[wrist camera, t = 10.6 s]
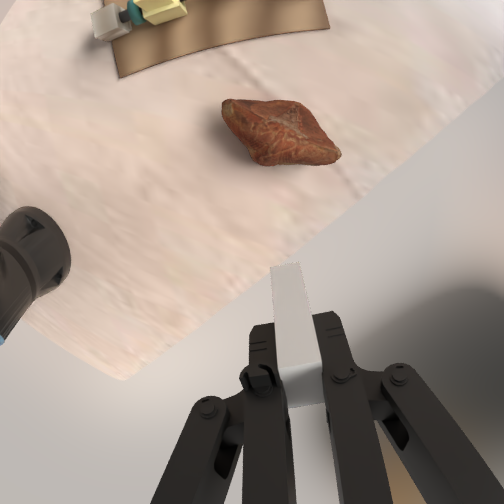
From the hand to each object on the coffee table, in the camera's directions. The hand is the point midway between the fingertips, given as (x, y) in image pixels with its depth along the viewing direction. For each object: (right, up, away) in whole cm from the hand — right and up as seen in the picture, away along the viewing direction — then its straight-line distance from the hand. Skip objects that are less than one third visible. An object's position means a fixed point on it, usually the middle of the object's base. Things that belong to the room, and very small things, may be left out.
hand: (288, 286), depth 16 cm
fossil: (+1, +17, +19) cm, 25 cm away
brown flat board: (-7, +32, +10) cm, 34 cm away
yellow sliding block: (-12, +30, +10) cm, 34 cm away
